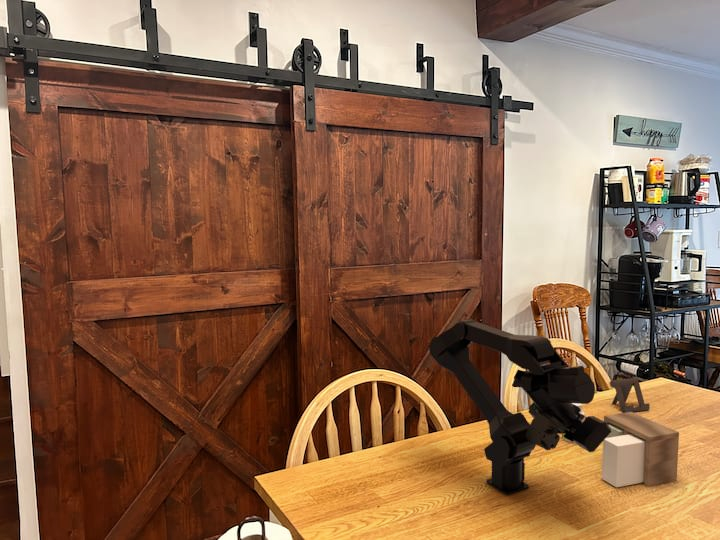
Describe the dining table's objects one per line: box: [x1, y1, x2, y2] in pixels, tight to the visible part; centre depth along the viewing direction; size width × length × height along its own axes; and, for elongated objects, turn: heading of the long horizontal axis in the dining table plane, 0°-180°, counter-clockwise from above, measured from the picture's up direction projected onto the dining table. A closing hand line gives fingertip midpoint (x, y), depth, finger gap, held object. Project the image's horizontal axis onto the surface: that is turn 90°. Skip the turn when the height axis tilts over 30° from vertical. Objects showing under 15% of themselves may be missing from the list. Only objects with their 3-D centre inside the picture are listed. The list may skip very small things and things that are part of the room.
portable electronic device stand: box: [609, 377, 650, 413], centre depth 159 cm, size 9×8×8 cm
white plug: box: [601, 434, 646, 488], centre depth 115 cm, size 12×4×9 cm, turn 108°
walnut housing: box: [603, 412, 680, 487], centre depth 119 cm, size 9×13×11 cm
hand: (587, 445), depth 110 cm, fingers closed
